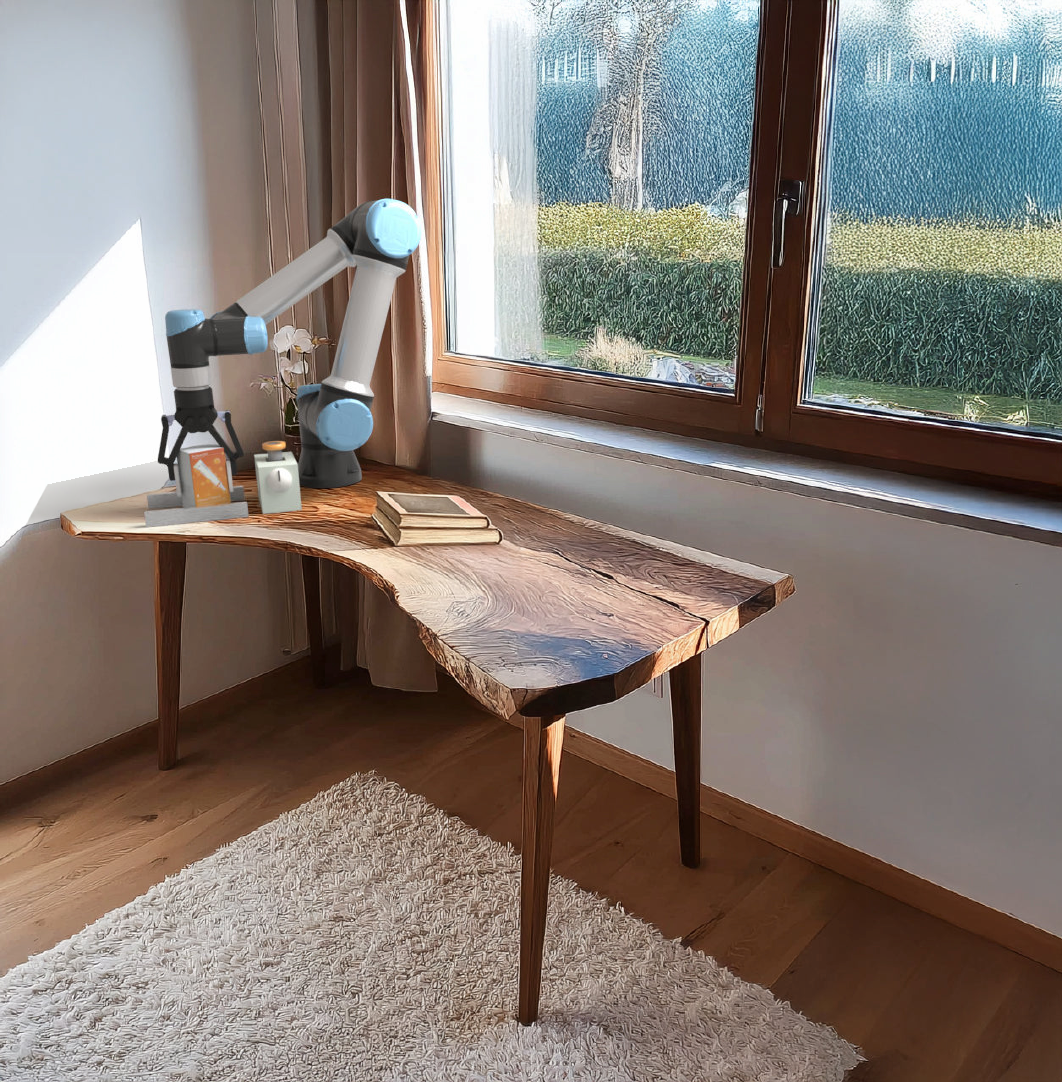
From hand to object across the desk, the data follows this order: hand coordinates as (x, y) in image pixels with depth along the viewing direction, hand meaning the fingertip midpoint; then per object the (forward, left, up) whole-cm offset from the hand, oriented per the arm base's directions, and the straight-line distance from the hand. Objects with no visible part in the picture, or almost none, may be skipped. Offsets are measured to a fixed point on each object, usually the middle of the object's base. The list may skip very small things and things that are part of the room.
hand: (205, 492), depth 208 cm
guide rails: (+2, 0, -4) cm, 5 cm away
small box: (0, 0, -4) cm, 4 cm away
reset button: (-15, 0, +3) cm, 15 cm away
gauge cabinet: (-15, 0, -4) cm, 15 cm away
